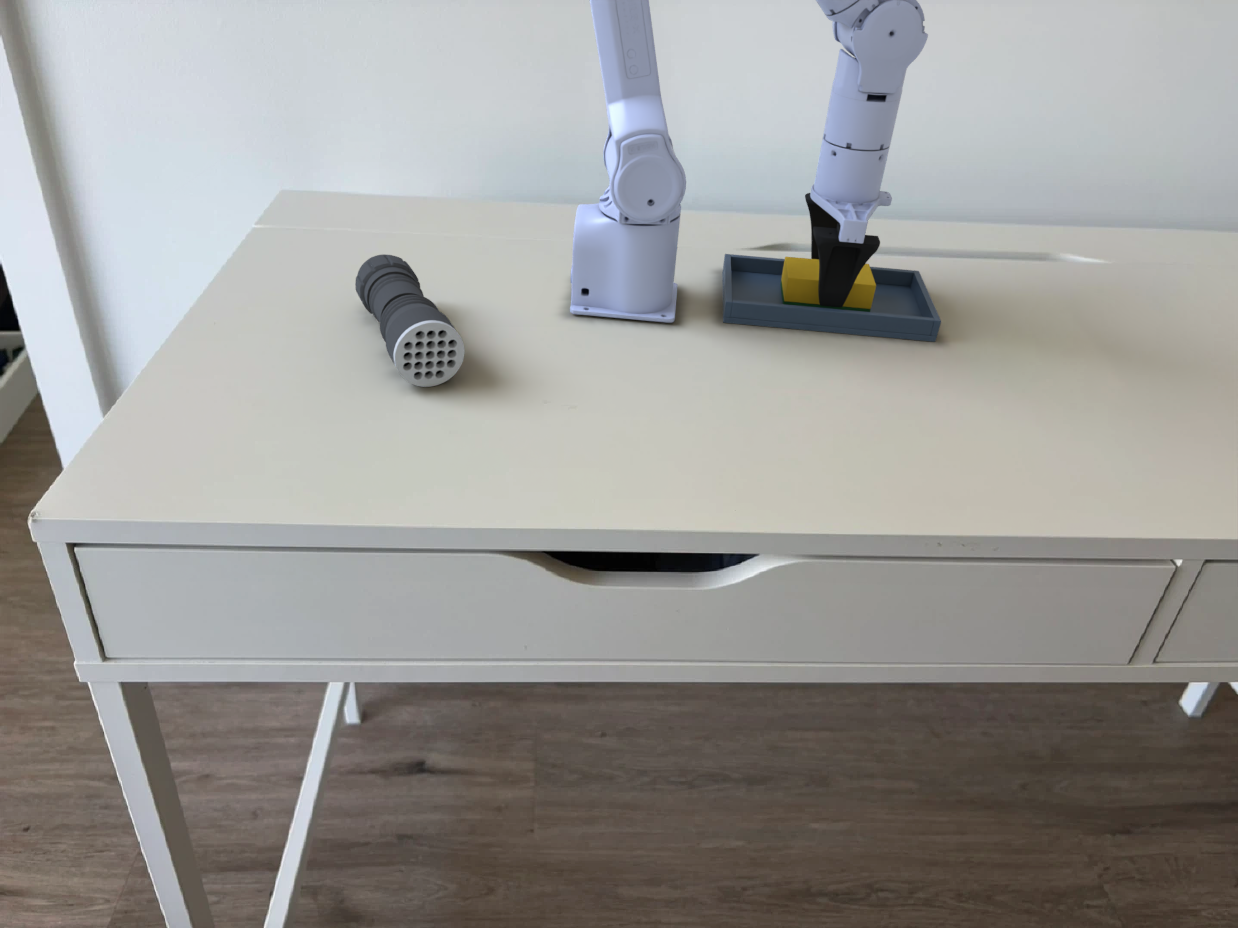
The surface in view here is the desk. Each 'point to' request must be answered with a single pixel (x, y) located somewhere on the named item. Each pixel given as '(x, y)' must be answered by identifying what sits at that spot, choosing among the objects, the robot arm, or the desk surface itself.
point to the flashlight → (409, 322)
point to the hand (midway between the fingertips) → (826, 287)
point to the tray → (893, 312)
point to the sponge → (804, 281)
